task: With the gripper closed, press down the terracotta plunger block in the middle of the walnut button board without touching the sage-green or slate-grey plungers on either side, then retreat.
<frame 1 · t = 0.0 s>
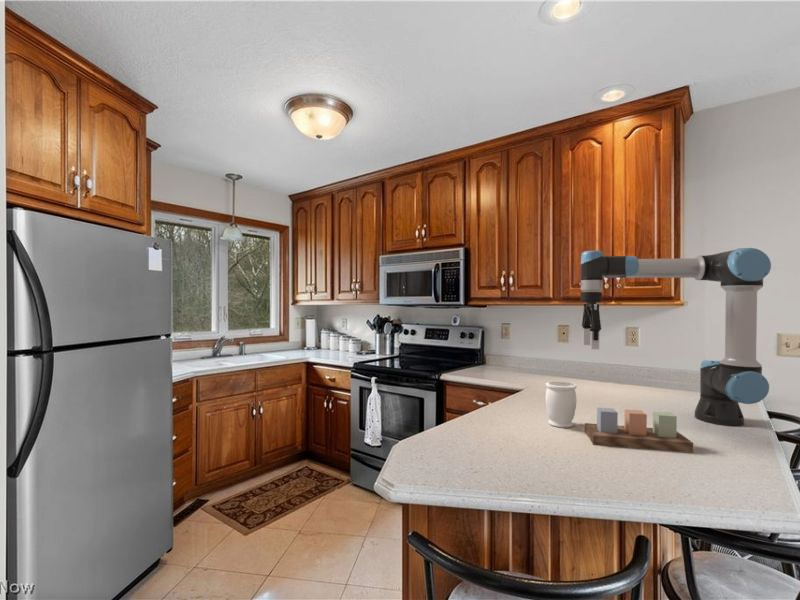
hand: (590, 347, 157), 28 cm above the worktop, fingers open, 13 cm apart
slate plunger: (606, 421, 136), point 6 cm above the worktop, slide at 0.0 cm
jar: (560, 425, 152), on the worktop
sage plunger: (664, 425, 132), point 6 cm above the worktop, slide at 0.0 cm
terracotta plunger: (635, 423, 134), point 6 cm above the worktop, slide at 0.0 cm
button board: (635, 441, 134), on the worktop
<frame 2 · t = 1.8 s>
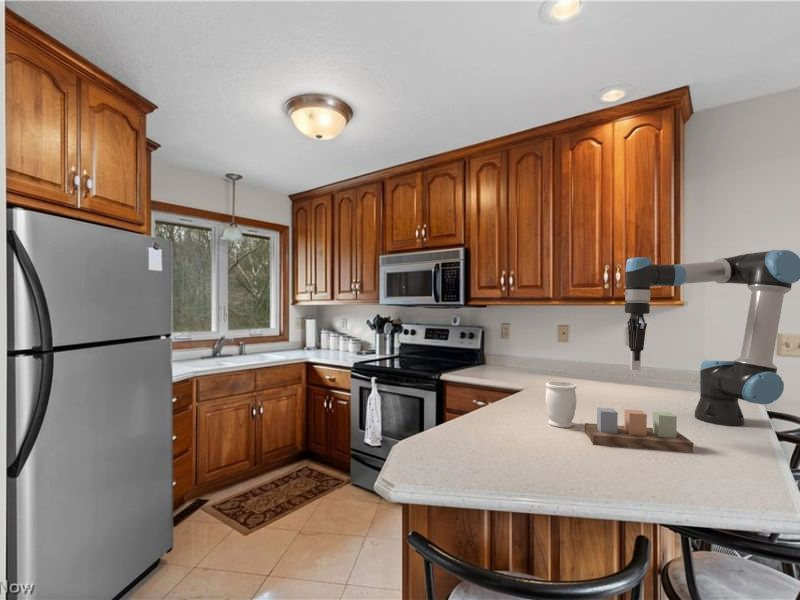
hand: (635, 369, 143), 22 cm above the worktop, fingers closed
nothing on the worktop moved.
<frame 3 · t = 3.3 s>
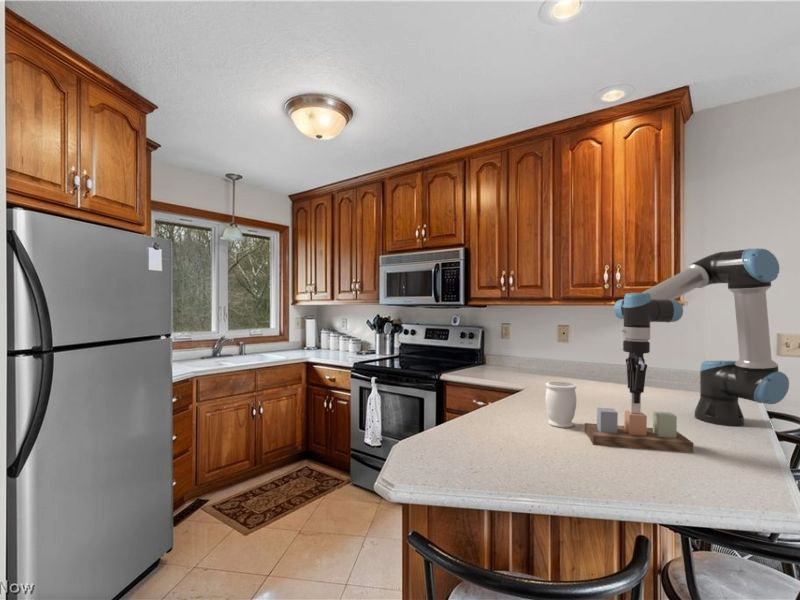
hand: (635, 412, 134), 10 cm above the worktop, fingers closed
terracotta plunger: (635, 424, 134), point 5 cm above the worktop, slide at 0.5 cm, touching gripper
everything else where it was.
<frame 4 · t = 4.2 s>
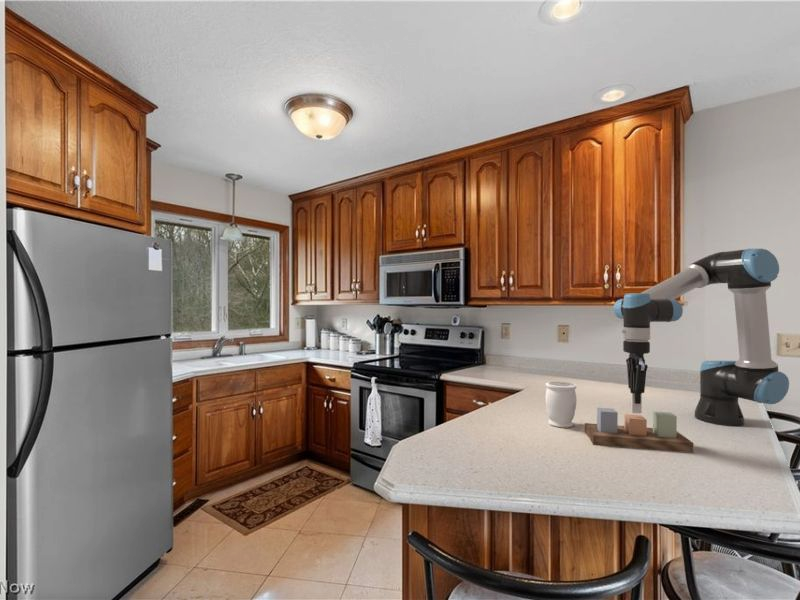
hand: (636, 412, 134), 9 cm above the worktop, fingers closed
terracotta plunger: (635, 428, 134), point 4 cm above the worktop, slide at 1.7 cm
everything else where it was.
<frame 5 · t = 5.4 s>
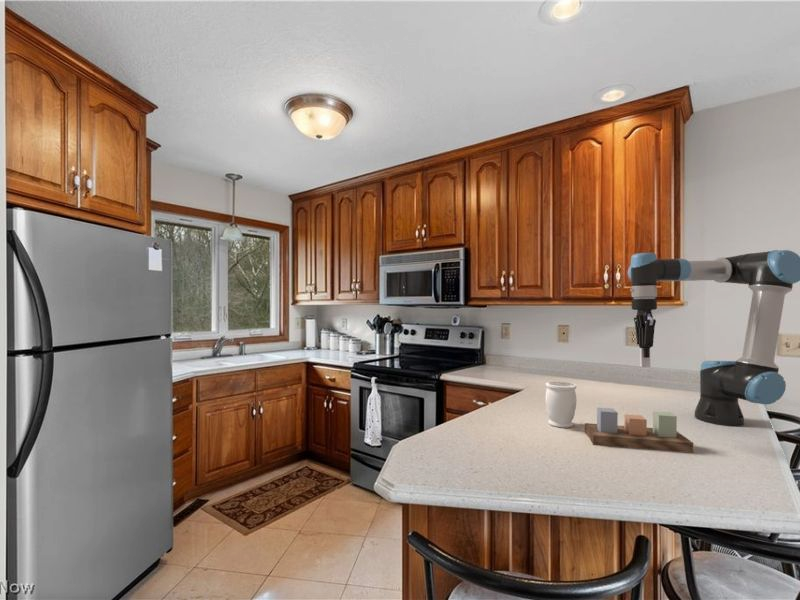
hand: (645, 366, 142), 23 cm above the worktop, fingers closed
nothing on the worktop moved.
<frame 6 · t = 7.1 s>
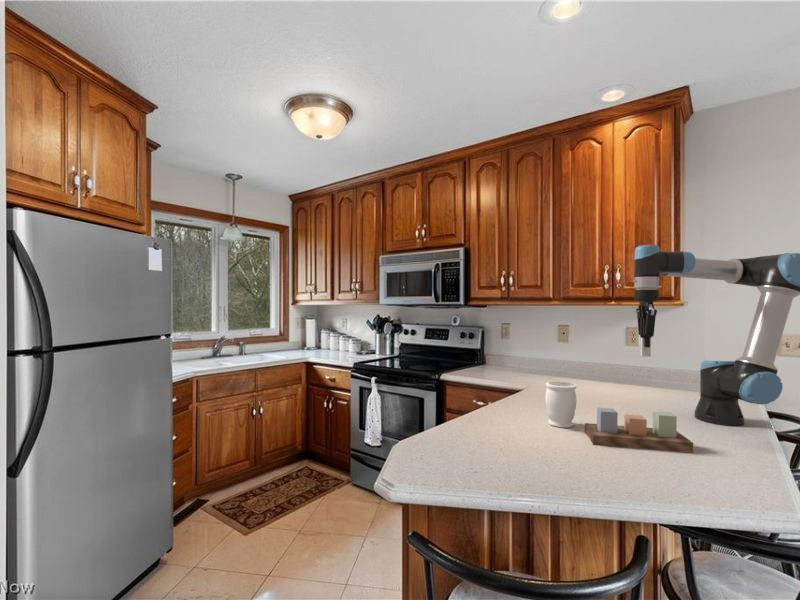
hand: (645, 356, 145), 26 cm above the worktop, fingers closed
nothing on the worktop moved.
at the end: terracotta plunger slide at 1.7 cm; sage plunger slide at 0.0 cm; slate plunger slide at 0.0 cm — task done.
